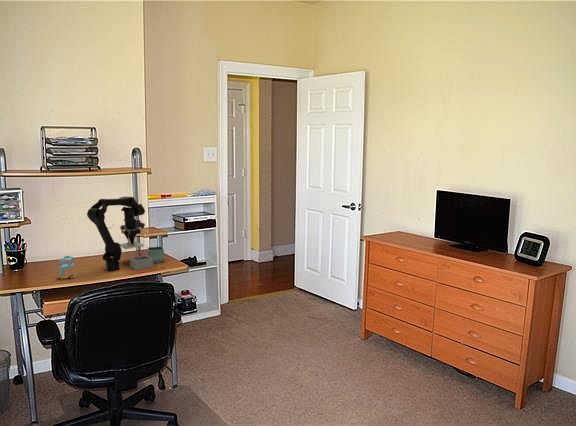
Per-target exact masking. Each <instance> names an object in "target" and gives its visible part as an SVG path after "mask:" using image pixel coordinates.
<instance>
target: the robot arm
mask: <svg viewBox="0 0 576 426" xmlns="http://www.w3.org/2000/svg"><path fill="white" fill-rule="evenodd" d="M109 206H123V207H122V208H121V209H120V210H121V212H123V214H124V215H123V216H124V217H123V222H124V224H122V225H120V230H121V231H122V233H123V234H124V236H125V238H126V241H128V238H129V240H130V242H131V244H134V240H135V239H136V236H137V235H138V234H141V232H142V231H141V229H144V228H145V222H141V220H140V219H136V218H135V217H140V216H143V215H145V214H146V213H145V212H146V209H145V207H144V206H143V204H142V203H137V200H136V199H135V197H134V196H121V197H119V198H100V199H98V201H97V202H96V203H94V204H93V205H92V206H90V208H89V209H88V211H87V213H86V215H87V218H88V219H89V220H90V221H91V222H92V223H93V224H94V225H95V226H96V229H97V231H98V232H99V234H100V237H101V239H102V241H103V244H104V245H105V246H104V253H103V255H102V260H103V261H105V269H104V270H105V271H106V272H109V273H110V272H115V271H120V269H121V267H120V261H121V258H122V252H123V251H122V248H123V247H121V246H120V244H121V243H120V242H116V241H115V240H114V239H113V236H112V235H111V233H110V231H109V229H108V226H107V224H106V222H105V220H106V219H105V217H106V215H105V214H106V213H107V210H108V207H109ZM140 228H141V229H140ZM135 241H136V240H135Z"/></svg>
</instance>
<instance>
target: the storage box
mask: <svg viewBox="0 0 576 426" xmlns="http://www.w3.org/2000/svg"><path fill="white" fill-rule="evenodd" d="M129 267H130V268H131V269H133V270H135V271H142V270H147V269H152V268H154V263H153V258H151V257H149V255H146V254H145V255H140V256H134V257H129Z"/></svg>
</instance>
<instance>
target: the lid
mask: <svg viewBox="0 0 576 426" xmlns="http://www.w3.org/2000/svg"><path fill="white" fill-rule="evenodd" d="M119 244H120V247H121V248H123V249H125V250H128V249H134V248H142V247H144V246H145V245H144V244H143V243H141V242H140V241H136V240H134V244H131V242H130V240H129V238H128V240H127V242H125V243H119Z"/></svg>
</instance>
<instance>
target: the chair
mask: <svg viewBox="0 0 576 426" xmlns="http://www.w3.org/2000/svg"><path fill="white" fill-rule="evenodd" d="M65 261H66V262H68V263H64V262H65ZM58 262H59V267H58V269H59V270H60V273H59V276H58V278H59V277H62V275H63V276H64V274H65V271H66V270H67V269H72V268H73V267H74V266H75V262H73V256H72V255H67V256H64V257H61V258H60V260H59V261H58ZM74 274H75V275H76V274H77V273H74ZM75 275H74V276H73V277H75ZM75 278H76V277H75Z"/></svg>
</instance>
